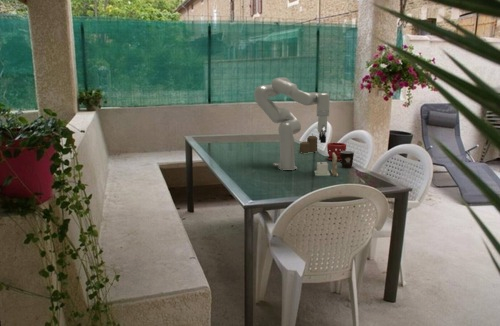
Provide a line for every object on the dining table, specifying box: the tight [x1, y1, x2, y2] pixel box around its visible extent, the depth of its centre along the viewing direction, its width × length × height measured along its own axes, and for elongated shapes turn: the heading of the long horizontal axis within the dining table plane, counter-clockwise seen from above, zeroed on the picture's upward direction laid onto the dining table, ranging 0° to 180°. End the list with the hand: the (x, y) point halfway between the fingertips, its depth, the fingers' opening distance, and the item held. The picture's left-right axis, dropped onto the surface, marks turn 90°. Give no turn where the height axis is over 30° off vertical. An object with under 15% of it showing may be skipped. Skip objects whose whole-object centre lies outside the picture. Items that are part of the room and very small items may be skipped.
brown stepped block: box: [299, 133, 318, 153], centre depth 331 cm, size 14×14×15 cm
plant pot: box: [326, 142, 347, 162], centre depth 301 cm, size 13×13×12 cm
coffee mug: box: [336, 150, 355, 169], centre depth 280 cm, size 12×9×10 cm
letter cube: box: [316, 161, 329, 174], centre depth 264 cm, size 7×6×6 cm
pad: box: [313, 170, 331, 177], centre depth 264 cm, size 9×11×1 cm
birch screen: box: [330, 153, 339, 177], centre depth 263 cm, size 3×13×12 cm, turn 176°
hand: (322, 141), depth 260 cm, fingers open, 9 cm apart
